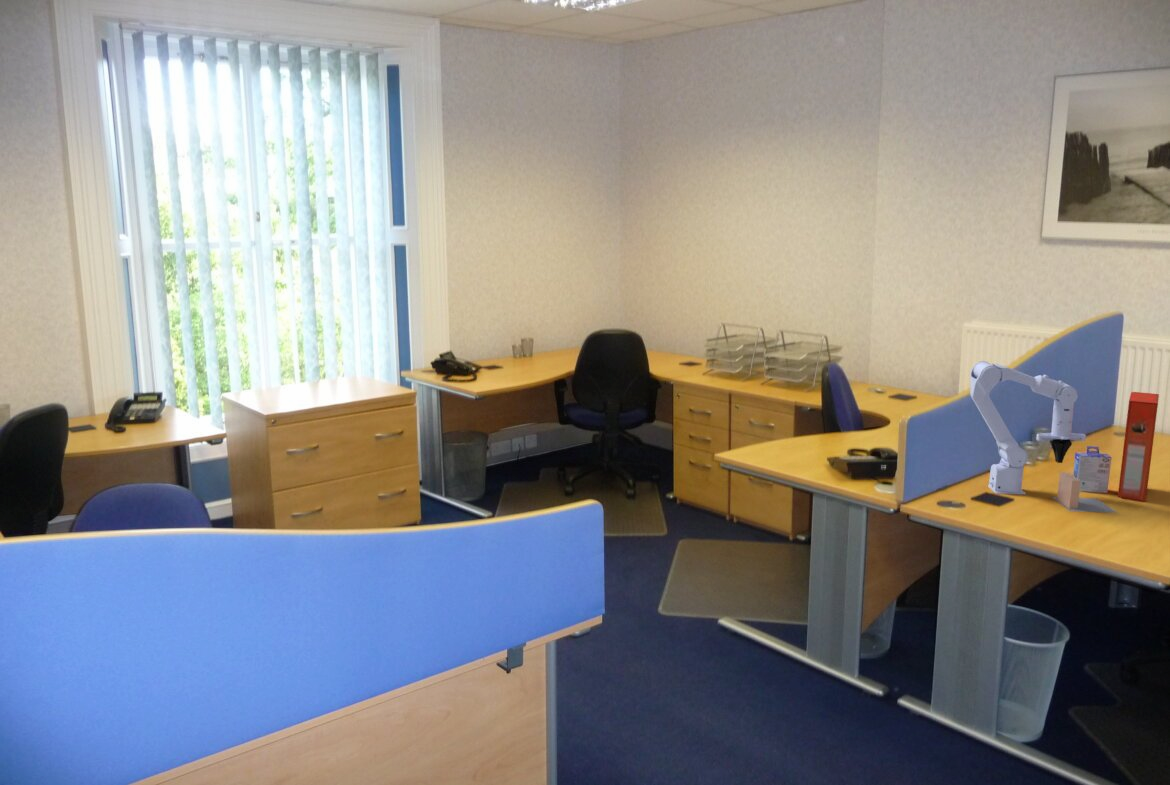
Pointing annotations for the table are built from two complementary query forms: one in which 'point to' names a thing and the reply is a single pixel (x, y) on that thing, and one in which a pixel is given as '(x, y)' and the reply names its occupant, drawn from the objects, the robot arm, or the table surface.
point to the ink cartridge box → (1092, 470)
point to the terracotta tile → (1069, 490)
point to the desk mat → (1090, 505)
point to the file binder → (1138, 446)
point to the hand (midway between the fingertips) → (1058, 462)
